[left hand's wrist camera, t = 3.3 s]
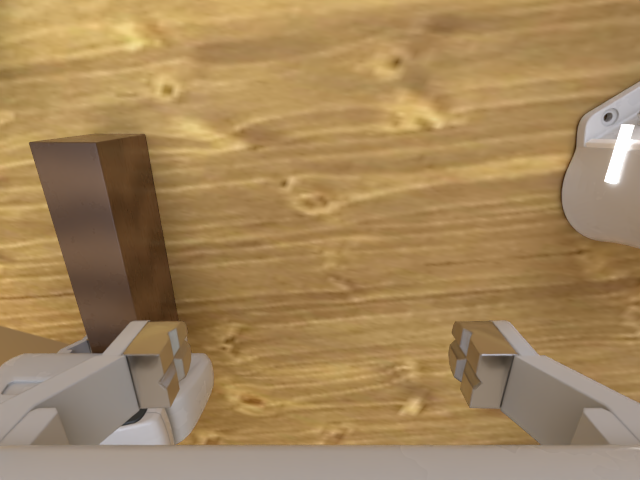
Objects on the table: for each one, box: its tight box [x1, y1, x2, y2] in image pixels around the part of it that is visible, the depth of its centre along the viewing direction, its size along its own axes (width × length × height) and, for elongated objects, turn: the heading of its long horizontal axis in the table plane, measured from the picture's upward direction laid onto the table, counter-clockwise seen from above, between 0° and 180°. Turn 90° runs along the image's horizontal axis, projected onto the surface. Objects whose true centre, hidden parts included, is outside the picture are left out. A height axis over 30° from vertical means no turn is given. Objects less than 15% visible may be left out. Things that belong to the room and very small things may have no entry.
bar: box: [29, 134, 178, 353], centre depth 36 cm, size 26×5×8 cm, turn 0°
